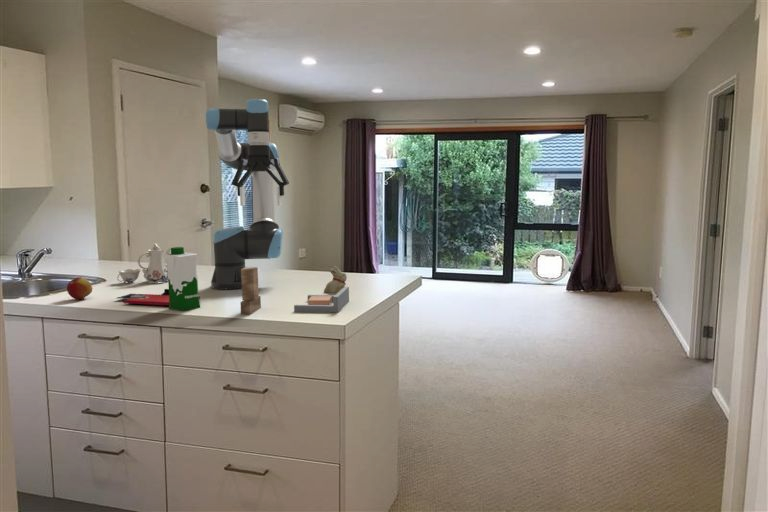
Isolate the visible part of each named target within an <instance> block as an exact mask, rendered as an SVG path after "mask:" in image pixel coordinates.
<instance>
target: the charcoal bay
mask: <svg viewBox="0 0 768 512" xmlns="http://www.w3.org/2000/svg"><path fill="white" fill-rule="evenodd" d="M311 296H332V305H308V304H294V305H293V311H294V312H295V313H331V312H338V313H340V312H341V310H342V309H343V308H344V307H345V306H346V305H347V304H348V303H349V302H350V286H345V287H344V288H342V289H341V290H340V291H339V292H338V293H335V294H307V301H308V300H309V298H310V297H311Z"/></svg>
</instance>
